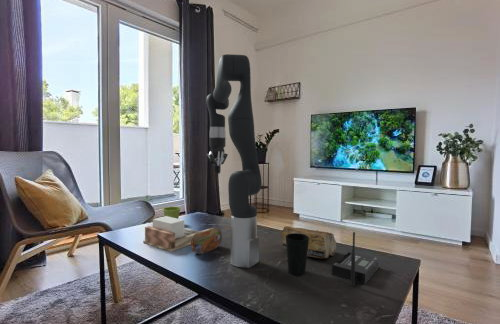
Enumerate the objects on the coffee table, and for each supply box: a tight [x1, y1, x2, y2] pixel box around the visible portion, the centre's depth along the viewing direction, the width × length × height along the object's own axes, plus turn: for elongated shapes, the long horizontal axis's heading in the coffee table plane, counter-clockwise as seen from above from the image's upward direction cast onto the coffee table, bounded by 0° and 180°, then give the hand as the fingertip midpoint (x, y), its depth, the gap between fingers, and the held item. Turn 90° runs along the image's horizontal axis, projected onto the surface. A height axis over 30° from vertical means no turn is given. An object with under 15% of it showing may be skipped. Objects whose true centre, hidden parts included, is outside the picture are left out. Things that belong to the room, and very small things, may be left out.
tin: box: [190, 227, 223, 255], centre depth 112 cm, size 15×3×8 cm, turn 143°
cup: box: [286, 233, 309, 277], centre depth 93 cm, size 8×8×12 cm
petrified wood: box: [280, 225, 337, 259], centre depth 112 cm, size 19×13×10 cm
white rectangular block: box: [152, 215, 185, 239], centre depth 120 cm, size 12×7×7 cm, turn 56°
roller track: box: [142, 225, 204, 253], centre depth 124 cm, size 18×21×7 cm
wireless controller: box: [331, 231, 380, 288], centre depth 93 cm, size 20×14×17 cm
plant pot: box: [162, 206, 181, 219], centre depth 149 cm, size 9×9×9 cm
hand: (217, 173), depth 133 cm, fingers closed
